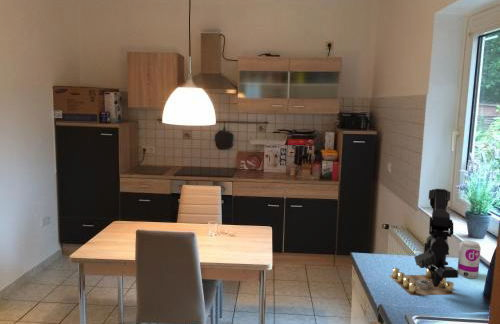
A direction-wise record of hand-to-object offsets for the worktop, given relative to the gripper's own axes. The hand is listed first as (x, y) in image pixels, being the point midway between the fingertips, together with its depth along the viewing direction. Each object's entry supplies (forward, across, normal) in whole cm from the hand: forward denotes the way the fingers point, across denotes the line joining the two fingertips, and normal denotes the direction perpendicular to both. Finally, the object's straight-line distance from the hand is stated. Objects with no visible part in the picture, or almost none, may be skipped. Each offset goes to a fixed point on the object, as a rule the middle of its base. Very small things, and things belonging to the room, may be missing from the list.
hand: (435, 286), depth 159 cm
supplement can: (+5, -22, +28) cm, 36 cm away
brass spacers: (+4, -11, 0) cm, 12 cm away
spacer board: (+4, -11, 0) cm, 12 cm away
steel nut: (+4, -8, 0) cm, 9 cm away
